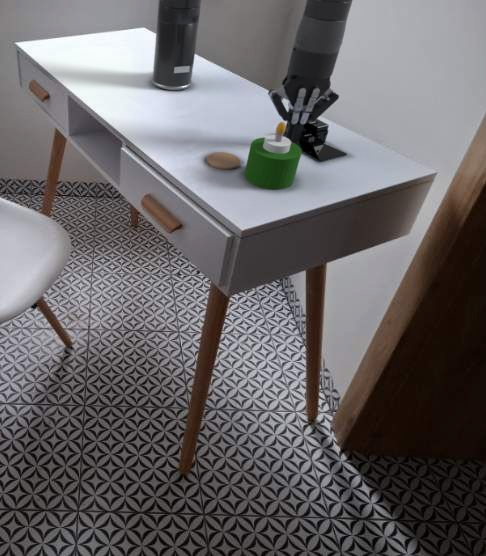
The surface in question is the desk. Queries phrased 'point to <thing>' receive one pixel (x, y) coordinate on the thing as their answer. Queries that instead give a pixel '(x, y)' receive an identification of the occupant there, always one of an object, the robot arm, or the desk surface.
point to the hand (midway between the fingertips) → (290, 140)
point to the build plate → (317, 142)
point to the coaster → (223, 160)
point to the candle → (273, 161)
